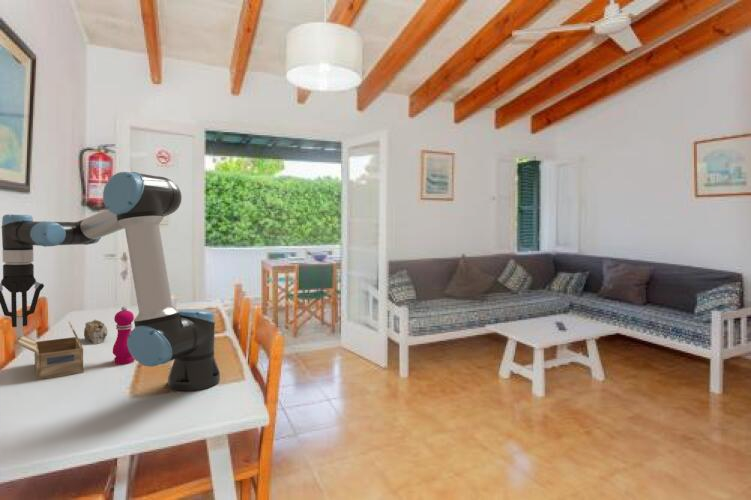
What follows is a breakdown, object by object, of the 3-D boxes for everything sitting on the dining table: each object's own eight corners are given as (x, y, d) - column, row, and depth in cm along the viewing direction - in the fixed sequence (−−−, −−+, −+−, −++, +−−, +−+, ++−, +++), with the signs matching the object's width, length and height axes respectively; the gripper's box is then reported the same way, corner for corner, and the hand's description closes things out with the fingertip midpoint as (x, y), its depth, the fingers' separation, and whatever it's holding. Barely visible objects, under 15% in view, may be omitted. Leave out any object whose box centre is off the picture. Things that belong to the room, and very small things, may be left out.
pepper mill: (125, 365, 149) (125, 308, 148) (107, 364, 151) (107, 307, 150) (140, 359, 157) (140, 305, 155) (123, 357, 158) (123, 303, 157)
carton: (83, 372, 142) (83, 348, 141) (37, 380, 134) (36, 355, 133) (76, 358, 156) (76, 336, 156) (34, 364, 148) (34, 341, 148)
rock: (112, 339, 178) (105, 316, 178) (94, 344, 173) (87, 320, 173) (103, 342, 186) (97, 320, 186) (86, 347, 181) (80, 324, 181)
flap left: (18, 343, 132) (17, 344, 131) (37, 351, 134) (36, 353, 134) (18, 332, 144) (17, 333, 144) (34, 340, 147) (33, 341, 147)
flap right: (80, 346, 142) (81, 345, 142) (73, 331, 140) (74, 331, 140) (74, 335, 154) (76, 335, 154) (68, 322, 153) (69, 321, 153)
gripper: (43, 261, 144) (44, 331, 145) (-9, 262, 135) (-7, 337, 137) (45, 263, 138) (46, 336, 139) (-10, 265, 130) (-8, 342, 131)
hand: (19, 336), depth 138 cm, fingers closed
